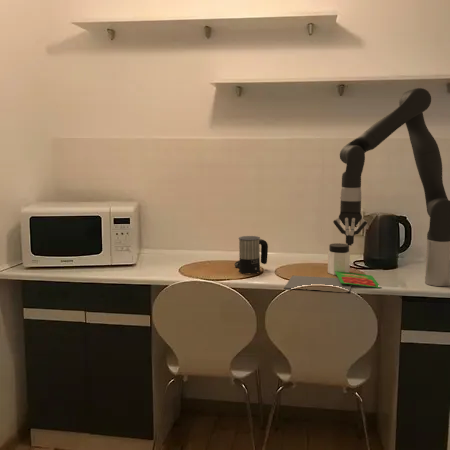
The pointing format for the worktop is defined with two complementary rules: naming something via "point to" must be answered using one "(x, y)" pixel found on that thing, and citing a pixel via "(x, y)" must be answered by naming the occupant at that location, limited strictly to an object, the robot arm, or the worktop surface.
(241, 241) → the milk frother
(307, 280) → the mat
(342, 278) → the tomato puree packet
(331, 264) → the jar
